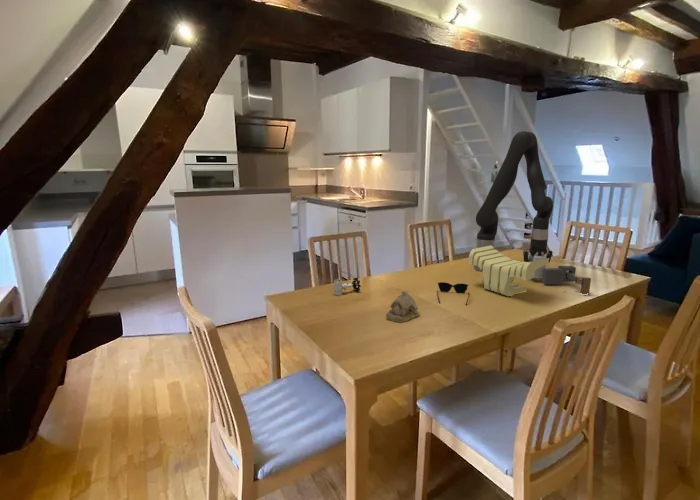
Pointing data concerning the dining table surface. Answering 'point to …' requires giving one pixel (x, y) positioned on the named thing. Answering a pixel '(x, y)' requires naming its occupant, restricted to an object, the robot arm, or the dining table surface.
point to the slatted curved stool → (502, 270)
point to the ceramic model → (403, 308)
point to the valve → (345, 286)
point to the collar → (557, 275)
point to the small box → (539, 271)
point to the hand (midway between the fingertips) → (535, 270)
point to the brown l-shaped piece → (580, 281)
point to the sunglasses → (457, 287)
